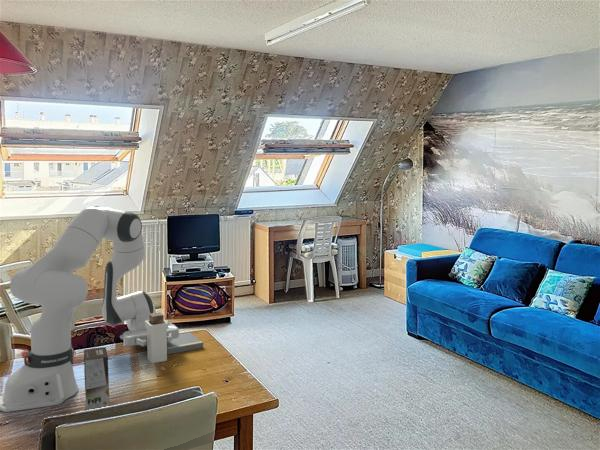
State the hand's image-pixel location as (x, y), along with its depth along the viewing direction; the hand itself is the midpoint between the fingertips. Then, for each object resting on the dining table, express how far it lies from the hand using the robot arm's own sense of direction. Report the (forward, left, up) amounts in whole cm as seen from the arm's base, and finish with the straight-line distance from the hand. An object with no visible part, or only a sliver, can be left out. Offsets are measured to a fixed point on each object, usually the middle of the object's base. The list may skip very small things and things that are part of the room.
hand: (157, 341), depth 189 cm
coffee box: (-26, -25, -7) cm, 37 cm away
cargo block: (0, +1, +6) cm, 6 cm away
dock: (+12, +11, -7) cm, 18 cm away
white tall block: (0, +1, -7) cm, 7 cm away
